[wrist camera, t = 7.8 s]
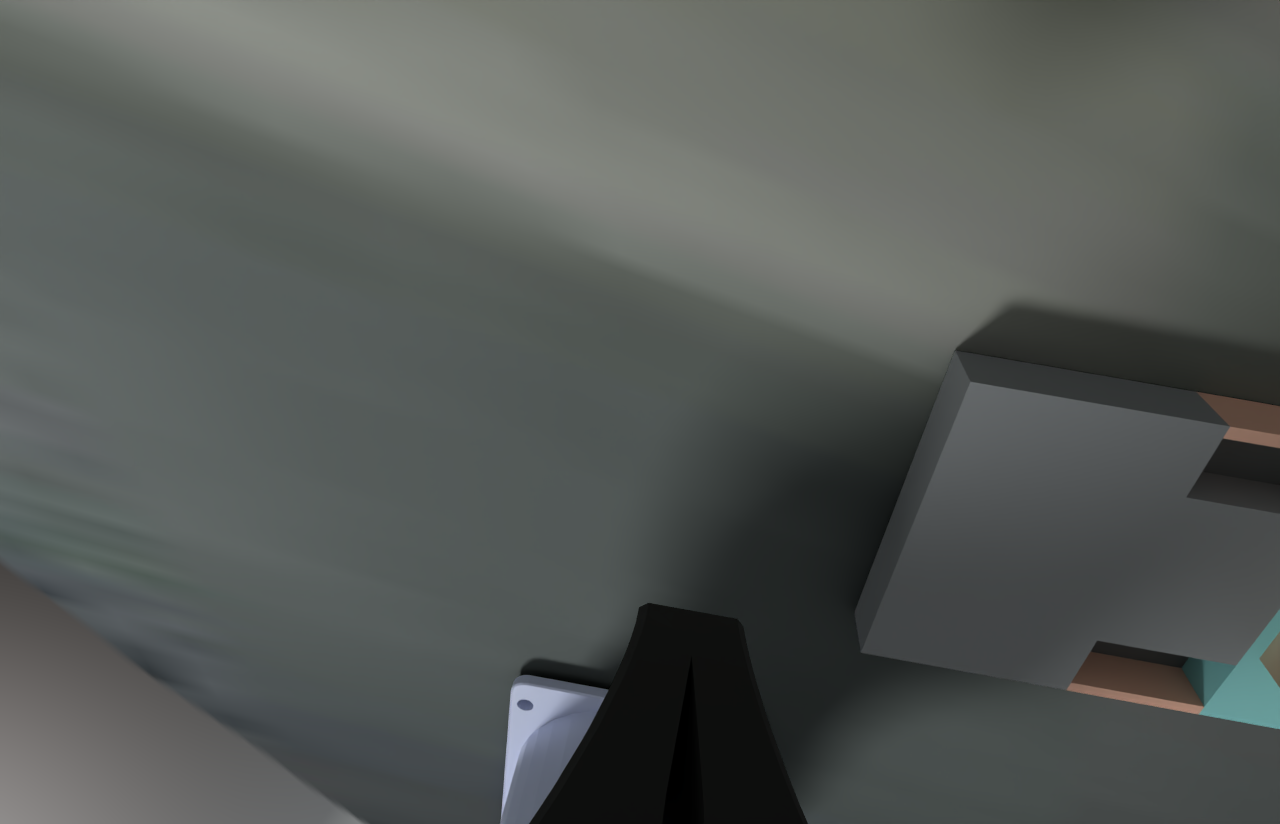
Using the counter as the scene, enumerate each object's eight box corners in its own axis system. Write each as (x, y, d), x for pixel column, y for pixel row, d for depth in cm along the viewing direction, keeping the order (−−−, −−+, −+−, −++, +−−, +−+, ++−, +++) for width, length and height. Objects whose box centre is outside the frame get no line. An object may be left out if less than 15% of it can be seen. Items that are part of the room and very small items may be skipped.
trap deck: (854, 611, 23) (873, 732, 19) (954, 350, 18) (1002, 445, 15) (1364, 704, 22) (1474, 843, 19) (1590, 459, 18) (1787, 583, 15)
